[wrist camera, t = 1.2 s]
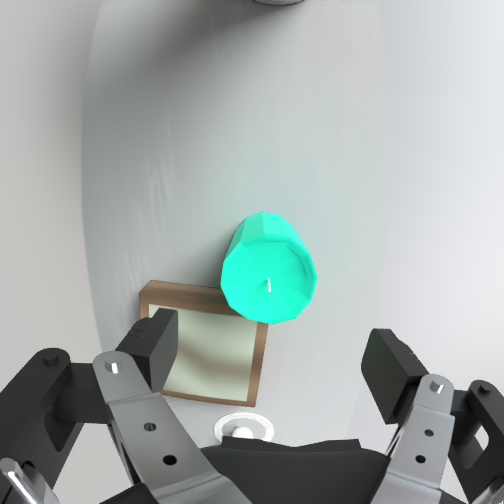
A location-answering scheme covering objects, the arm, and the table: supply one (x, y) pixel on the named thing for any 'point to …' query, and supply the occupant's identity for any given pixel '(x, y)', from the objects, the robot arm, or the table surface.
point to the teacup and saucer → (243, 431)
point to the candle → (268, 270)
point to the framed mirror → (209, 344)
